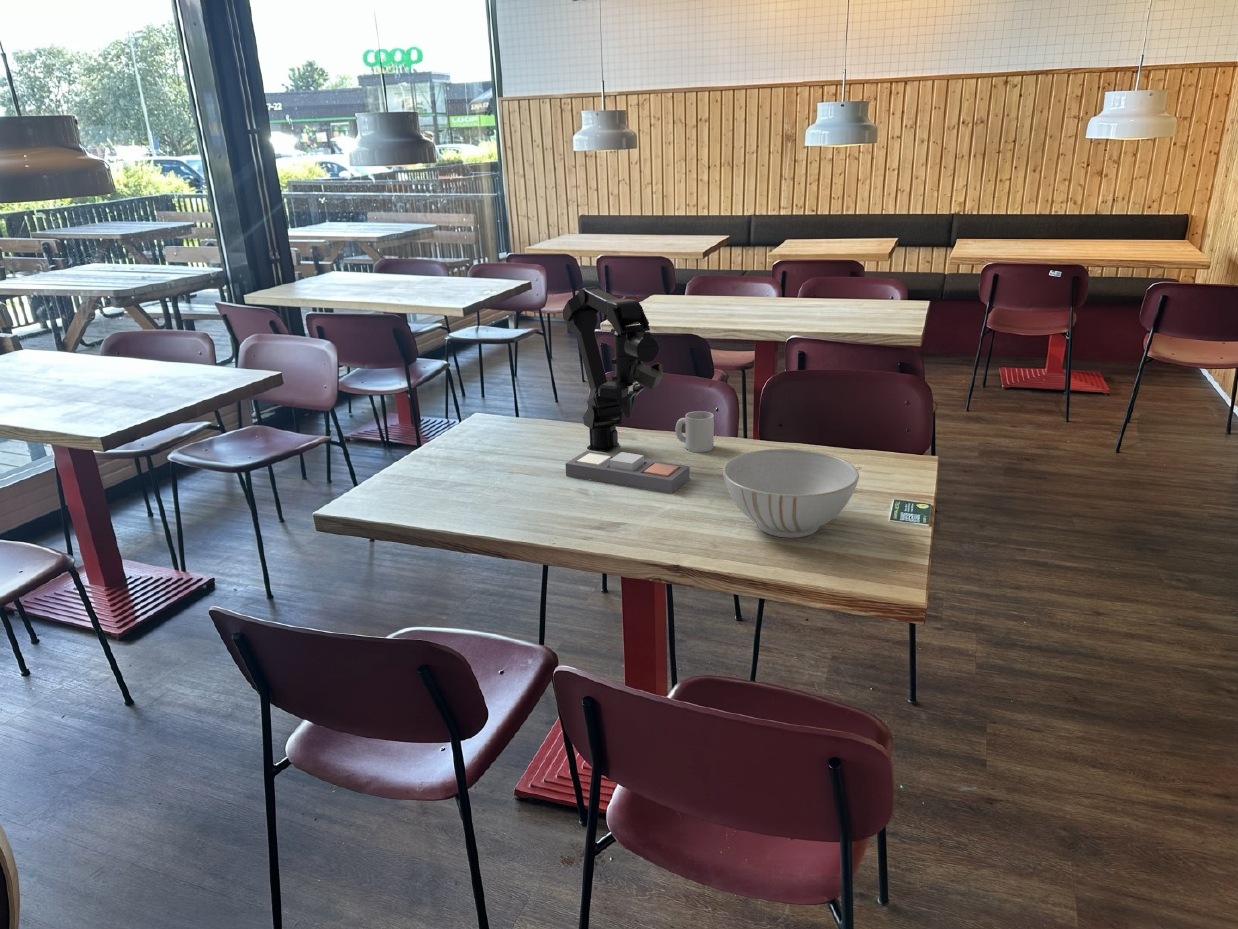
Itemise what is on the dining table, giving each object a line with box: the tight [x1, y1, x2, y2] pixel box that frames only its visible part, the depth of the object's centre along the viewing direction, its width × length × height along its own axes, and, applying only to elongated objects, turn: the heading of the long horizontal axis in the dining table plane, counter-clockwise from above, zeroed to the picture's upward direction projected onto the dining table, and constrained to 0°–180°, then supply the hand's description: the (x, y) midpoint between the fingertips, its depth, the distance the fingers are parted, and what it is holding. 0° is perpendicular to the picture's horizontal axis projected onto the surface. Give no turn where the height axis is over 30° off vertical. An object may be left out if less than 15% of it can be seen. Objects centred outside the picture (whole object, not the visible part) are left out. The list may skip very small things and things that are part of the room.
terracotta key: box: [644, 463, 678, 477], centre depth 203 cm, size 6×6×2 cm
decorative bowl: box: [722, 448, 860, 539], centre depth 177 cm, size 27×27×12 cm
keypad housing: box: [565, 450, 691, 495], centre depth 207 cm, size 28×10×3 cm, turn 62°
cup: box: [675, 410, 715, 453], centre depth 225 cm, size 7×10×9 cm
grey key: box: [609, 451, 645, 472], centre depth 207 cm, size 6×6×2 cm
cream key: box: [577, 453, 611, 466], centre depth 211 cm, size 6×6×2 cm
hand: (628, 416), depth 213 cm, fingers closed
